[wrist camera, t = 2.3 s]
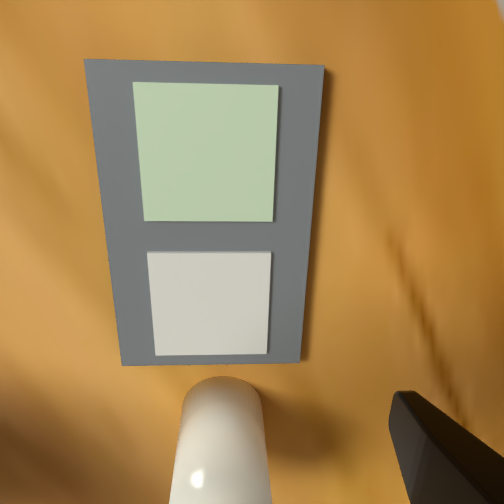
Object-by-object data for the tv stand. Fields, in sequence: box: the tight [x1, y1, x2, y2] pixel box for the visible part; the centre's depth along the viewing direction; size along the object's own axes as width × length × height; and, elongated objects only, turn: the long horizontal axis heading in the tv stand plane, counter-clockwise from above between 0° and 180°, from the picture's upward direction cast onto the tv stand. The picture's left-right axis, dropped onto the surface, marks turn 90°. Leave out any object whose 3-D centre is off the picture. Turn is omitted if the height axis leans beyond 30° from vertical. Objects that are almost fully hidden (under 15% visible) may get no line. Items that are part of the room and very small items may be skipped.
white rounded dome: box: [169, 376, 272, 504], centre depth 20 cm, size 4×4×6 cm
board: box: [84, 59, 324, 366], centre depth 19 cm, size 14×9×1 cm, turn 179°
